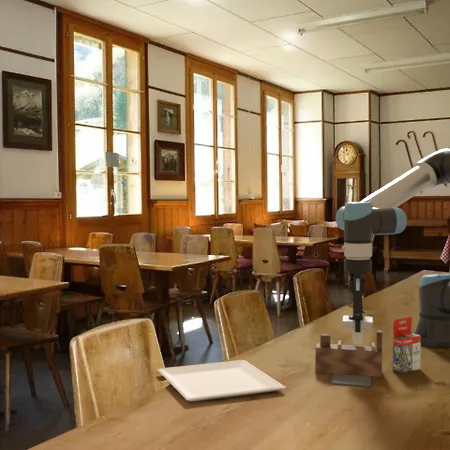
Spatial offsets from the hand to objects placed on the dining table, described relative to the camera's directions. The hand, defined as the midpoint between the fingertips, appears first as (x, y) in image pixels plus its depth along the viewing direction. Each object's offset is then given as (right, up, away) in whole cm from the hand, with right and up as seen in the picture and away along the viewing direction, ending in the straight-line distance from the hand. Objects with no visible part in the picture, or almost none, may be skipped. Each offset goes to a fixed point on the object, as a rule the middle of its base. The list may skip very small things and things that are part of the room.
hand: (357, 339), depth 171 cm
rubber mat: (-3, -10, -7) cm, 13 cm away
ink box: (+14, -9, +3) cm, 18 cm away
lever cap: (0, +4, 0) cm, 4 cm away
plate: (-39, -10, -10) cm, 41 cm away
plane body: (-2, -9, +1) cm, 10 cm away
